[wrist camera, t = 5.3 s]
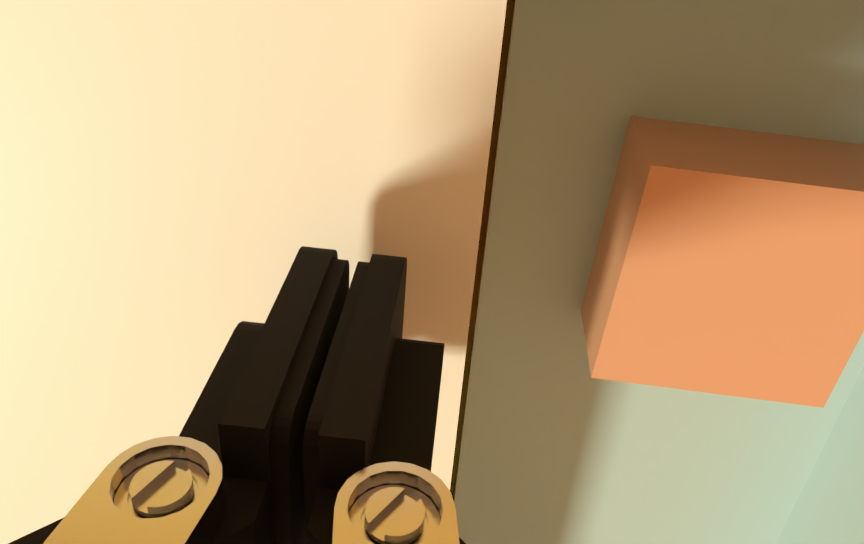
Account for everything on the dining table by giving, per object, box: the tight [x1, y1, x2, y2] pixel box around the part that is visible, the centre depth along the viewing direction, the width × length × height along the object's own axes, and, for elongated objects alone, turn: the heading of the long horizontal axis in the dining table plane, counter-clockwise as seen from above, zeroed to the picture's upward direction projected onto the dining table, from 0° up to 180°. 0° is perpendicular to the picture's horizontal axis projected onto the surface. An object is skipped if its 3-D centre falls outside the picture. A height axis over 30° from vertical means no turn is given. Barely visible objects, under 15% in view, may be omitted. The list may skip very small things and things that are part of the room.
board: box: [0, 0, 507, 544], centre depth 18 cm, size 26×12×5 cm, turn 176°
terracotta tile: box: [581, 116, 864, 408], centre depth 15 cm, size 5×5×2 cm
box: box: [454, 0, 864, 544], centre depth 18 cm, size 26×11×4 cm, turn 176°
